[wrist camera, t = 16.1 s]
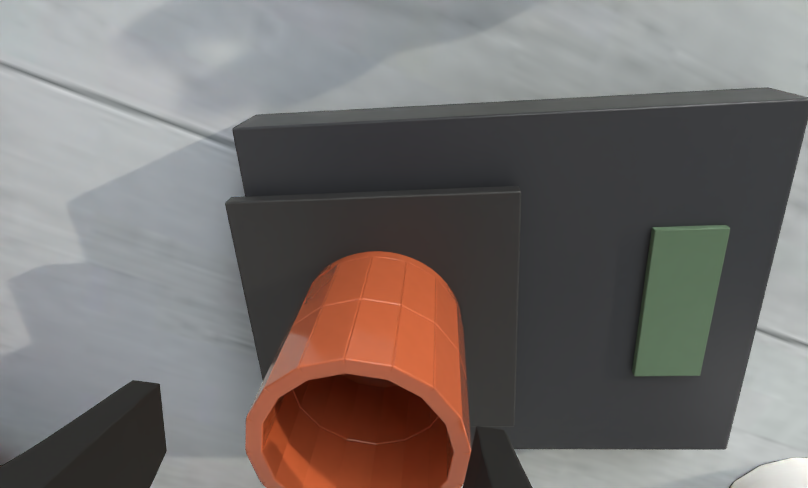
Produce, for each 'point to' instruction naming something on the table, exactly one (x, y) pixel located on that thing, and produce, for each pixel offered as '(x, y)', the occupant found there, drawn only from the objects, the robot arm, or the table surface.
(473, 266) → the pan
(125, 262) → the table surface
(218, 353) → the table surface
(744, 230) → the scale housing
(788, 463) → the foam cup
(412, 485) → the orange faceted tumbler
